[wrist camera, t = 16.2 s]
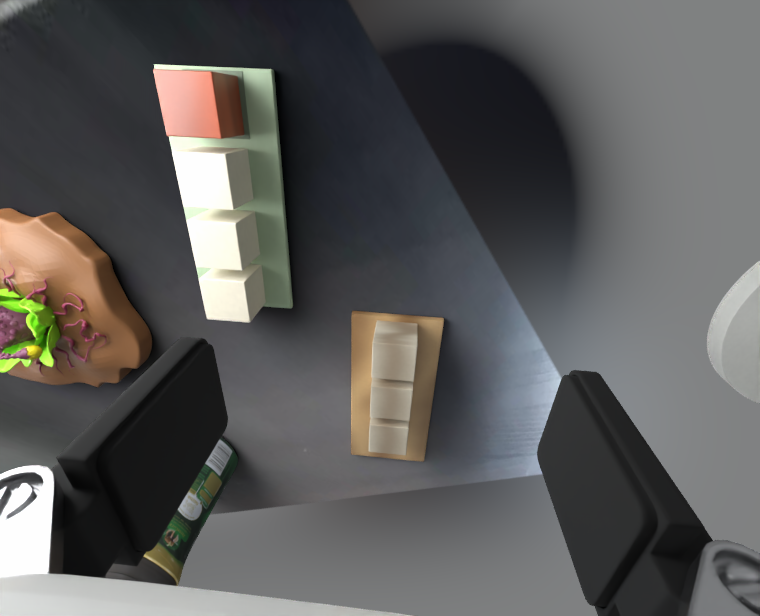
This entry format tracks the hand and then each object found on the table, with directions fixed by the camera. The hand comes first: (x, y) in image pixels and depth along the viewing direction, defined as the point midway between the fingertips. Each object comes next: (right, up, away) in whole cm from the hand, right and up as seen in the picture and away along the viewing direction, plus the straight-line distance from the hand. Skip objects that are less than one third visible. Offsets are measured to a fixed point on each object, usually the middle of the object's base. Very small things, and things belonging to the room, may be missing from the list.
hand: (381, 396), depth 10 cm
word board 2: (+1, -7, +31) cm, 32 cm away
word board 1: (-13, +12, +23) cm, 29 cm away
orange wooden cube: (-13, +18, +19) cm, 29 cm away
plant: (-35, +3, +30) cm, 46 cm away
